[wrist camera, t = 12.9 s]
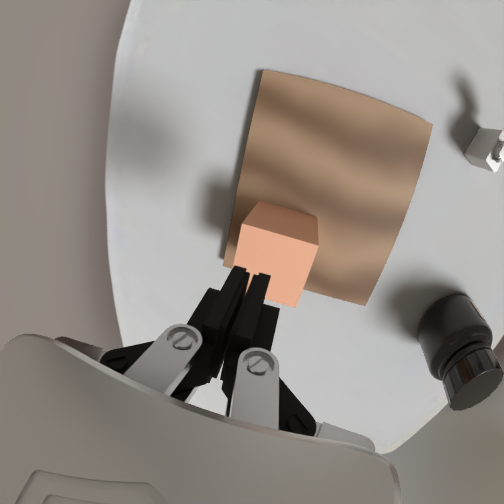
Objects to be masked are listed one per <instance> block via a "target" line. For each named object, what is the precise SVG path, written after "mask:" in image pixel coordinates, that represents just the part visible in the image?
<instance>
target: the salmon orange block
mask: <svg viewBox="0 0 504 504" xmlns="http://www.w3.org/2000/svg"><path fill="white" fill-rule="evenodd" d="M318 247H319V238H318V219H317V217H314V216H311V215H308V214H304V213H301V212H297V211H294V210H291V209H287V208H284V207H280V206H277V205H273V204H269V203H266V202H262V201H258V203H257V204H256V205H255V207H254V208H253V209H252V211H251V212H250V213H249V215H248V216H247V217H246V219H245V220H244V222H243V223H242V226H241V230H240V235H239V240H238V244H237V249H236V254H235V259H234V263H233V267H234V265H236V266H240V267H243V268H246V269H247V270H246V272H249V273H250V277H249V281H248V286H247V290H248V287H249V285H250V282H251V280H252V277H253V275H254V274H256V275H259V272H260V273H264V274H267V275H271V278H270V282H269V285H268V289H267V292H266V295H265V299H267V300H271V301H274V302H278V303H281V304H284V305H288V306H291V307H295V308H296V306H297V303H298V301H299V298H300V296H301V293H302V290H303V288H304V285H305V283H306V280H307V277H308V275H309V272H310V269H311V266H312V264H313V261H314V258H315V255H316V253H317V250H318ZM232 269H233V268H232ZM247 290H246V292H247Z"/></svg>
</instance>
